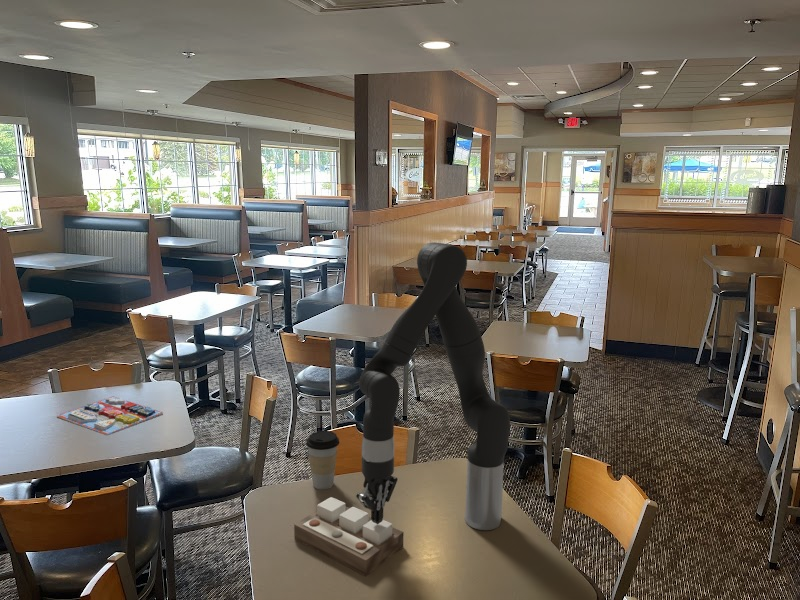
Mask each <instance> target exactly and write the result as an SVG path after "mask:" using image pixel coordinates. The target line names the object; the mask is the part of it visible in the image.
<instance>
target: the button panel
mask: <svg viewBox="0 0 800 600" xmlns="http://www.w3.org/2000/svg"><path fill="white" fill-rule="evenodd" d="M350 508H351V507H348V506H346V511H347V510H348V509H350ZM369 521H371V516H370V515H368V522H369ZM293 527H294V528H293V530H294V537H293V539H294V540H296V541H298V542H300V543H301V544H303V545H305V546H307V547H309V548H311V549H313V550H314V551H316V552H318V553H321V554H322V555H324V556H326V557H328V558H330V559H332V560H334V561H335V562H338V563H339V564H341V565H342V566H345V567H347V568H349V569H351V570H353V571H354V572H356V573H359V574H360V575H362V576H364V577H367V576H368V575H370V574H371V573H373V572H374V571H375V570H376V569H377V568H379V567H380V566H381V565H383V563H385V562H386V561H387V560H389V559H390V558H391V557H392V556H394V555H395V554H397V553H398V552H399V551H400V550H401V549H403V548H404V535H405V534H404V532H405V531H403V530H400V529H398V528H395V527H393V526H392V537H390V538H389V539H388V540H386V541H385V542H384V543H382V544H381V545H380V546H379V545H377V544H375V543H373V542H370V541H368V540H366V539H364V538H363V529H362V530H360V531H359V532H357V533H356V534H354V533H352V532H349V531H347V530H345V529H343V528H341V527H339V519H338V520H336V521H335V522H333V523H331V522H328V521H326V520H324V519H322V518H320V517H318V516H317V510H316V511H314V512H312V513H311V514H309V515H308V516H306V517H304V518H302V519H301V520H299V521H297V522H295V523H294V524H293Z"/></svg>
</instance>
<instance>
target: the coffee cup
mask: <svg viewBox="0 0 800 600" xmlns="http://www.w3.org/2000/svg"><path fill="white" fill-rule="evenodd" d="M339 444H340V439H339V437H338V436H337V433H335V431H334V432H333V431H331V430H317V431H314V432H311V433H310V434H309V436H308V438H307V439H306V443H305V445H306V447H308V458H309V459H308V460H309V466H310V472H311V478H312V479H311V480H312V487H313V488H314V489H317V490H327V489H330V488H332V487H333V486H334V481H335V480H334V479H335V470H336V467H337V465H336V464H337V455H338V446H339Z"/></svg>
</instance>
